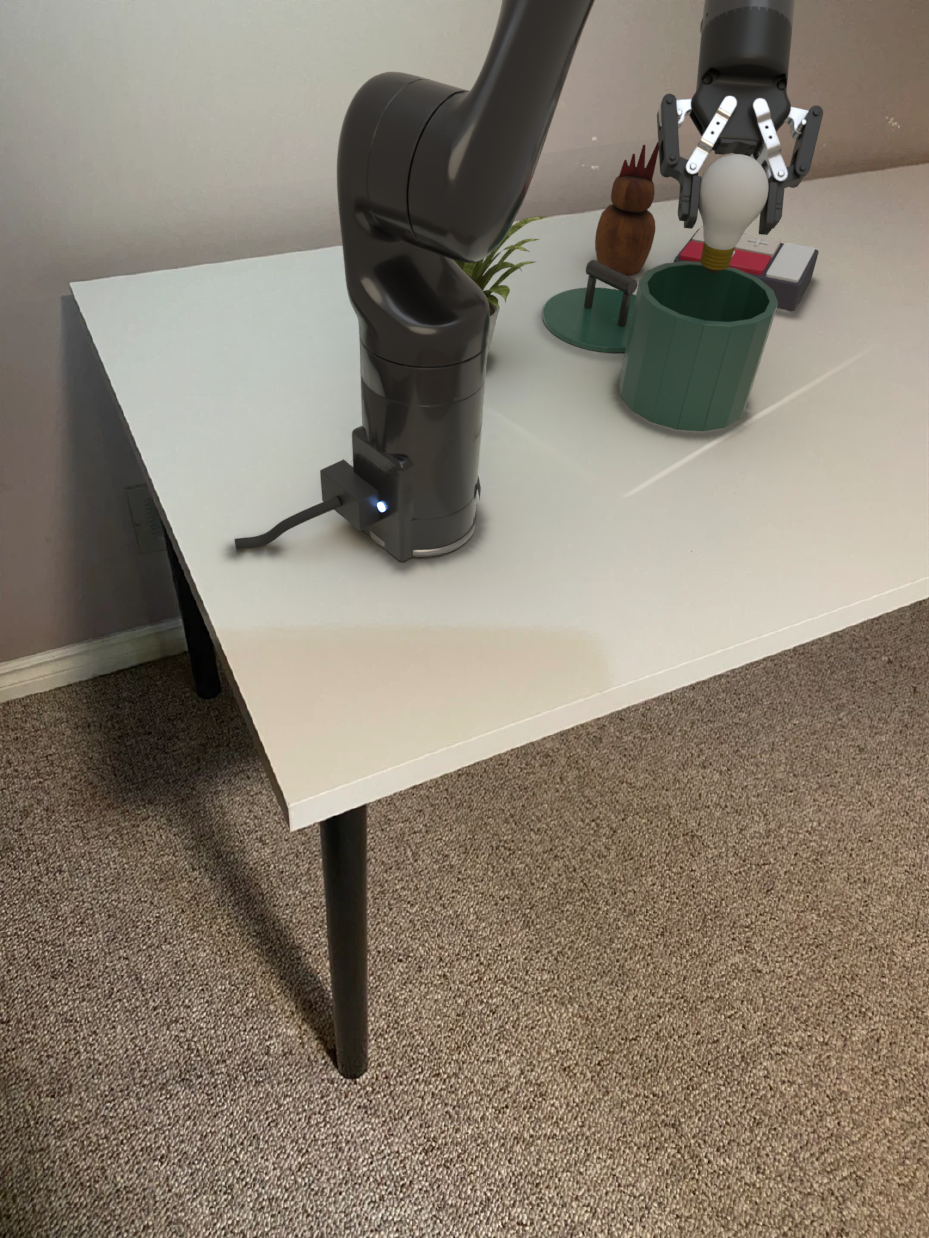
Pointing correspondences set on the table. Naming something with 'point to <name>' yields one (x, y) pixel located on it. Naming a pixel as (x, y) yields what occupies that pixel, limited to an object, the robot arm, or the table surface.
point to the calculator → (766, 264)
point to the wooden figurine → (628, 218)
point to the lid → (594, 311)
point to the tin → (695, 345)
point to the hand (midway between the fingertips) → (728, 227)
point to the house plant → (479, 268)
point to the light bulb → (729, 206)
